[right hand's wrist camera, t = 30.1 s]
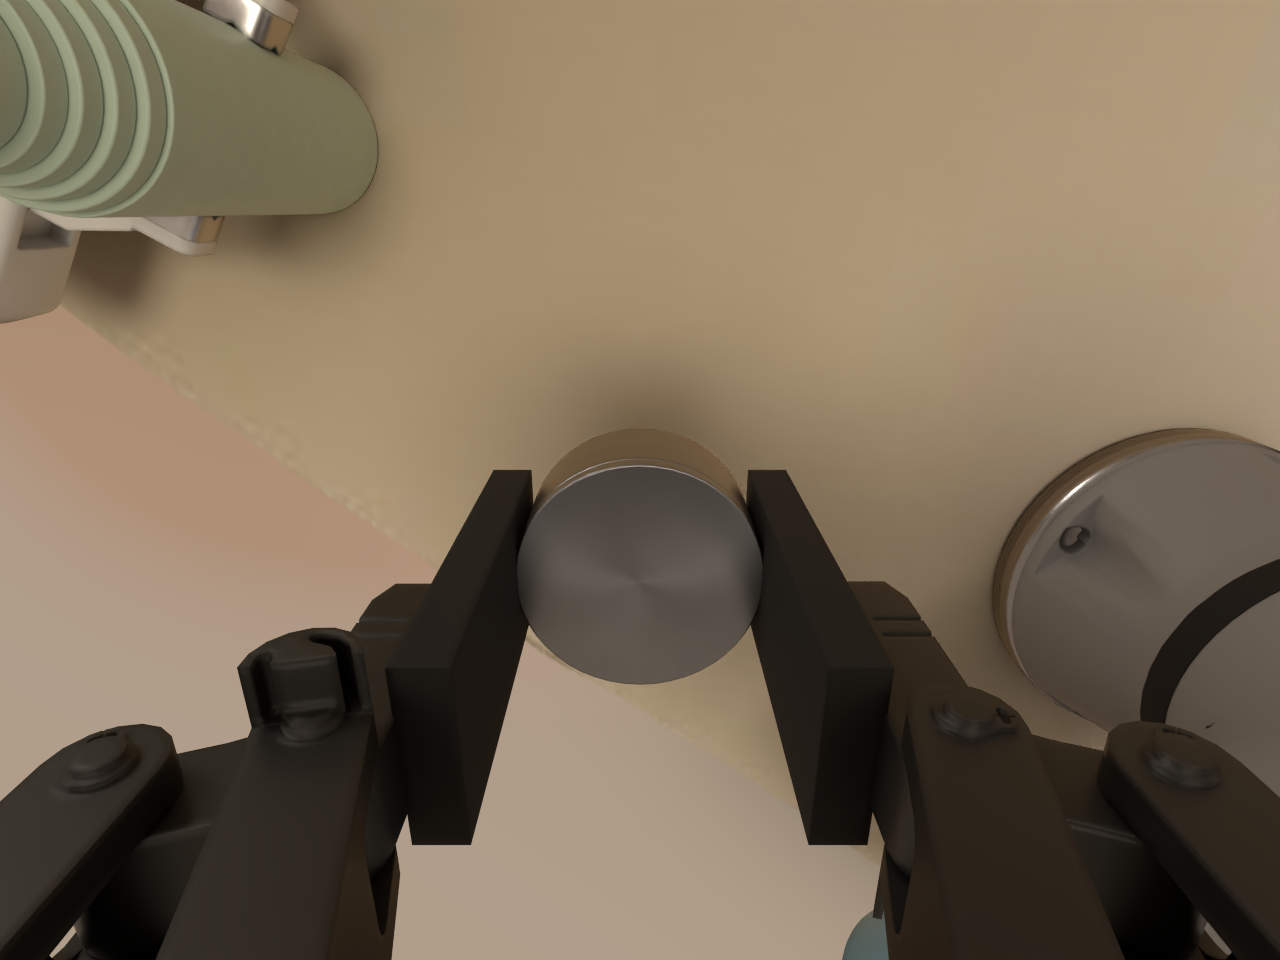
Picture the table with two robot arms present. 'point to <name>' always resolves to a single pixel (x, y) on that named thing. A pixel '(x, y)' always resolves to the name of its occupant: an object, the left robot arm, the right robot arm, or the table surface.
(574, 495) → the cap
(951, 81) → the table surface
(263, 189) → the bottle
